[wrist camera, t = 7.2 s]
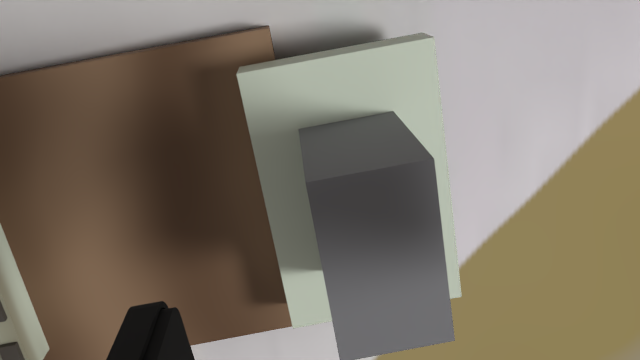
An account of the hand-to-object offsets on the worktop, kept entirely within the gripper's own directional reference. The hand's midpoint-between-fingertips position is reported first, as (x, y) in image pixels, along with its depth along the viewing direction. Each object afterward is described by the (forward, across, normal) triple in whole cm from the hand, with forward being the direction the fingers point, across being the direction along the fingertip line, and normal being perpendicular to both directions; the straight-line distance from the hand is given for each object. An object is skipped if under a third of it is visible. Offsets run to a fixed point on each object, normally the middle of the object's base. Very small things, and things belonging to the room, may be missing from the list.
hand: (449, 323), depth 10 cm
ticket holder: (+11, +13, +1) cm, 17 cm away
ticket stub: (+10, +1, +1) cm, 10 cm away
